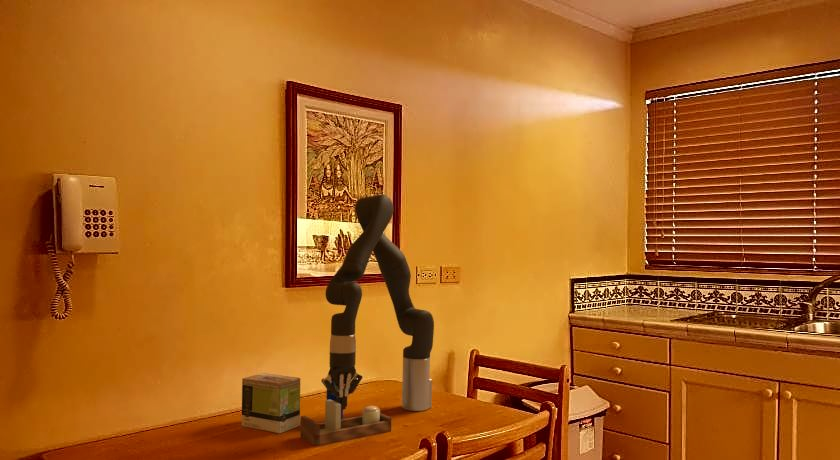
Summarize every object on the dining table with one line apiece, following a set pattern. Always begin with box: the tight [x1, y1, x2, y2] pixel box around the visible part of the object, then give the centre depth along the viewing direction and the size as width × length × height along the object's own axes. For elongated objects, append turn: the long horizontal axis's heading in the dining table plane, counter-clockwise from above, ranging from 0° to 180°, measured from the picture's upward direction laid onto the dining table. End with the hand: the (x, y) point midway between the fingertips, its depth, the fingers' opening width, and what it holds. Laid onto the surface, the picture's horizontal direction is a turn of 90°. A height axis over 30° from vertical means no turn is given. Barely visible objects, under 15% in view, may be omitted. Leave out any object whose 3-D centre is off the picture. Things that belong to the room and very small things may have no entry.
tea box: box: [241, 372, 301, 434], centre depth 198 cm, size 15×10×15 cm, turn 62°
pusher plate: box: [320, 399, 341, 433], centre depth 188 cm, size 6×6×10 cm
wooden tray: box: [300, 412, 392, 447], centre depth 192 cm, size 25×9×6 cm, turn 126°
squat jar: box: [361, 405, 381, 425], centre depth 197 cm, size 5×5×7 cm
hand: (341, 409), depth 191 cm, fingers closed
